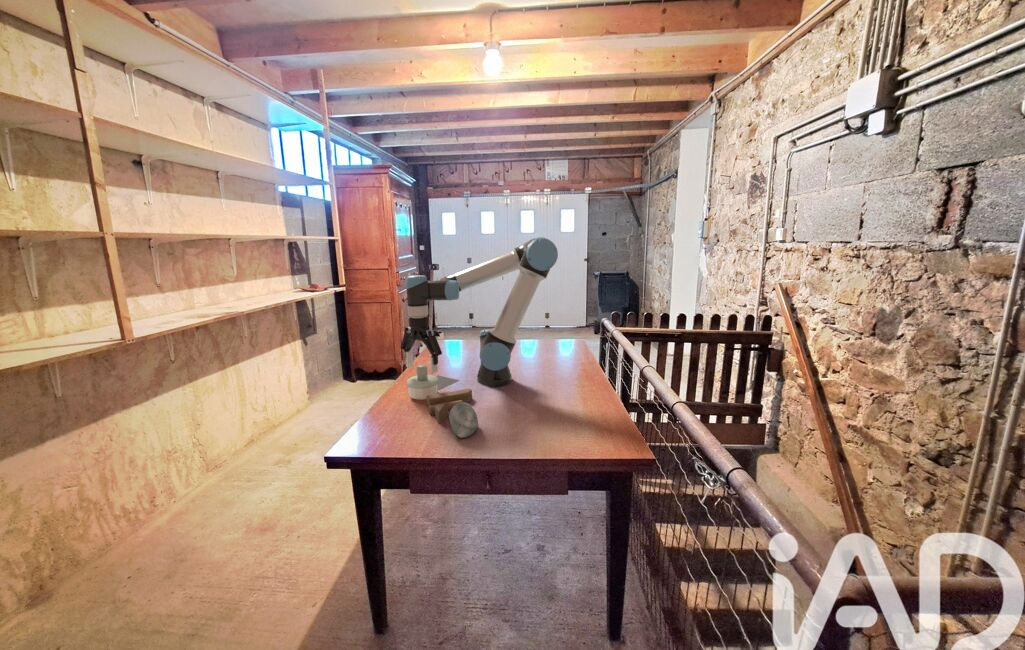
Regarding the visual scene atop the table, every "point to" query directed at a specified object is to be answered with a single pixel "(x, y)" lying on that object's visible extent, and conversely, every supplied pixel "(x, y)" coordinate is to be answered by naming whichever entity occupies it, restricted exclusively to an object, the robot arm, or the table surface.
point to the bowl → (422, 392)
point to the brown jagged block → (446, 402)
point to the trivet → (445, 381)
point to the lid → (422, 379)
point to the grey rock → (463, 419)
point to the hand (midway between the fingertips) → (421, 369)
